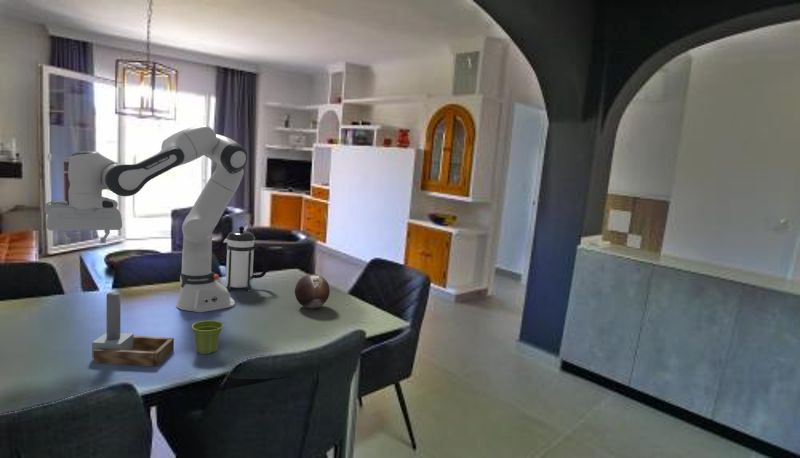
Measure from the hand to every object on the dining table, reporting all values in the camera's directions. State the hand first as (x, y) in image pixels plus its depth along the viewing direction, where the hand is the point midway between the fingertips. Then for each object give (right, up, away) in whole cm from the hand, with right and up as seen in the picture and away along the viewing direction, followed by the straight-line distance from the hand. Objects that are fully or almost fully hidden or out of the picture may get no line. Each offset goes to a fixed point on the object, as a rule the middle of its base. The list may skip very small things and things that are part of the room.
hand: (85, 243), depth 149 cm
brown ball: (+63, -30, +53) cm, 88 cm away
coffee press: (+26, -24, +72) cm, 80 cm away
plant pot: (+39, -35, +1) cm, 53 cm away
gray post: (+14, -34, -8) cm, 37 cm away
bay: (+21, -35, -8) cm, 41 cm away
